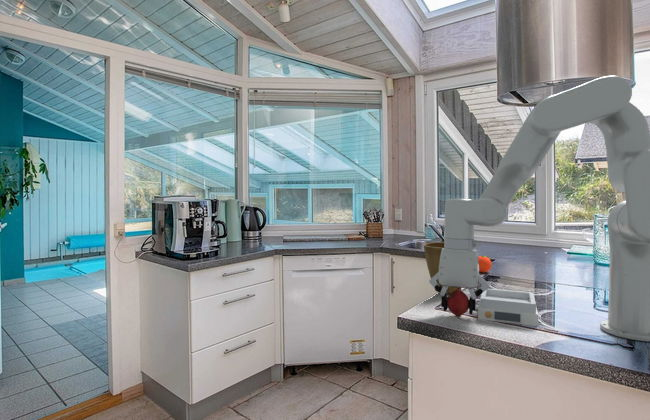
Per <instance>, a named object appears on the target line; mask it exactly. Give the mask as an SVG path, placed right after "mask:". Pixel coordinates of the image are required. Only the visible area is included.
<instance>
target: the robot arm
mask: <svg viewBox="0 0 650 420" xmlns="http://www.w3.org/2000/svg"><path fill="white" fill-rule="evenodd" d="M632 97H633V90H632V86H631V84H630V82H628V81H627V80H626V79H625V78H623V77H620V76H617V75H607V76H601V77H599V78H595V79H593V80H590V81H588V82H585V83H583V84H581V85H578V86H576V87H572V88H570V89H567V90H564V91H561V92H559V93H557V94H553V95H550V96H548V97H545V98H544V99H542V100H540V101H539V102H538V103H536V105H535V106H534V107H533V108H532V109H531V111H530V112H529V113H528V116H527V117H526V118H525V120H524V121H523V124H522V125H521V127H520V129H519V130H518V132H517V133H516V135H515V137H514V139H513V140H512V141H511V143H510V145H509V147H508V148H507V150H506V152H505V153H504V154H503V156H502V159H501V160H500V161H499V163H498V166H497V168H496V170H495V172H494V173H493V175H492V177H491V179H490V180H489V182H488V184H487V185H486V187H485V189H484V190H483V192H482V193H481V195H480V197H479V199H470V198H449V199H446V200H445V202H444V235H443V237H444V238H443V239H444V240H443V241H444V248H442V251H441V256H440V263H439V272H438V273H437V274H436V275H435V276H433V277H432V278H431V277H430V279H429V280H428V282H429V284H431V286H432V287H433V288H434V290H435V289H436V290H437V291H438V292H437V291H436V292H437V293H439V295H440V297H441V298H440V301H441V302H440V304H441V305H440V306H441V308H443V309H442V310H443V312H447V311H448V310H449V308H448V306H447V299H448V296H449V295H448V294H447V292H446V291H447V289H448V287H458V288H461V289H467V290H468V292H469V295H470V297H469V309H468V313H469V315H473V314H474V312H475V311H476V309H477V308H476V303H477V302H476V299H477V298H479V297H480V296H481V294H482V293H483V292H484V291H486V290H487V289H490V284H489V283H488V281H486V280H485V279H484V278H483V277H482V276H481V274H480V272H479V260H478V257H479V254H478V250H477V249H475V248H476V247H480V246H481V242H480V240H476V239H475V226H477V227H478V226H480V227H484V228H495V227H496V228H497V227H499V226H500V225H502V224H503V223H504V222H505V221H506V219H507V217H508V207H509V206H510V203H511V202H512V201H513V199H514V198H515V196H516V194H517V193H518V192H519V190H520V189H521V188H522V187H523V186H524V185H525V183H526V182H527V181H529V180H530V179H531V178H532V177H533V176H534V174H535V173H536V172H537V171H538V169H539V167H540V166H541V164H542V162H543V160H544V159H545V158H546V156H547V154H548V153H549V152H550V150H551V148H552V146H553V145H554V143H555V142H556V140H557V139H558V137H559V135H560V134H561V132H563V131H566V130H568V129H572V128H575V127H578V126H582V125H585V124H587V123H591V124H592V125H594V126H596V127H597V128H598V129H599V130H600V131H601V132H600V133H601V134H602V136H603V140H604V144H605V152H606V162H607V163H606V164H607V173H608V174H607V175H608V176H607V177H608V182H609V184H610V186H611V187H612V188H613V189H614V190H616V191H618V192H619V193H623V194H624V196H625V200H623V201H621V202H619V203H617V204H616V205H614V206H613V208H612V209H611V210H610V211H609V214H608V217H607V232H608V241H609V267H608V268H609V270H608V271H609V276H608V277H609V278H608V305H607V306H608V308H607V309H608V313H607V314H608V316H607V319H605V320H602V321H601V322H600V323H599V327H600V329H601V330H602V331H604V332H605V333H608V334H610V335H613V336H616V337H620V338H623V339H628V340H633V341H638V342H639V341H640V342H648V343H649V342H650V127H649V123H648V121H647V118H646V117H645V115H644V114H643V112H642V111H641V110H640V109H639V108H638V107H637V106H636V105H634V104H633V103H631V102H630V101H631V100H632ZM438 278H439V284H441V285H443V288H442V287H441V286H440V285H439V284H438V283H437V282H436V280H437V279H438ZM479 283H480V285H481V286H480V287H478V285H479ZM477 287H478V289H476V288H477Z"/></svg>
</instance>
